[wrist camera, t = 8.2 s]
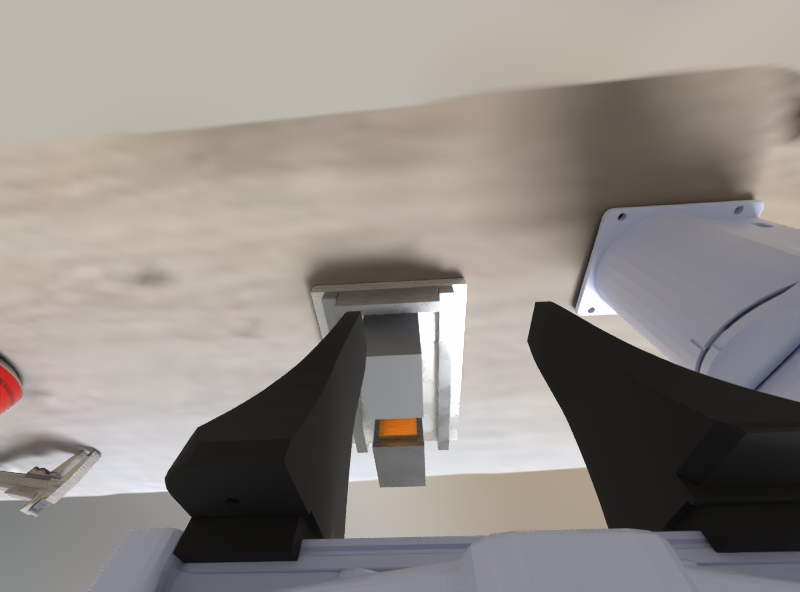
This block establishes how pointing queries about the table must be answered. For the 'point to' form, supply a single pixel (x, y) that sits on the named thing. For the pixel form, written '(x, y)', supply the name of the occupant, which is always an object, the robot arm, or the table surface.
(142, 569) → the robot arm
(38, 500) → the caliper
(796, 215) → the table surface
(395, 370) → the block
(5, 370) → the soda can
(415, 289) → the rail
